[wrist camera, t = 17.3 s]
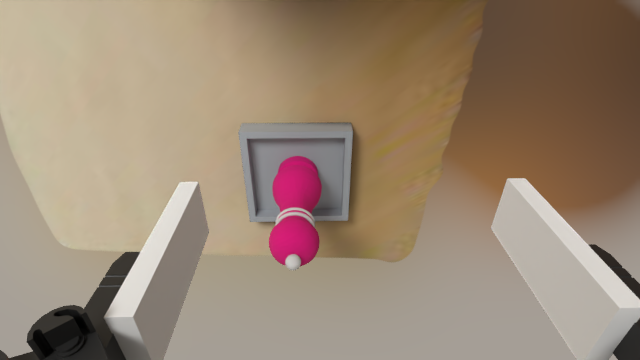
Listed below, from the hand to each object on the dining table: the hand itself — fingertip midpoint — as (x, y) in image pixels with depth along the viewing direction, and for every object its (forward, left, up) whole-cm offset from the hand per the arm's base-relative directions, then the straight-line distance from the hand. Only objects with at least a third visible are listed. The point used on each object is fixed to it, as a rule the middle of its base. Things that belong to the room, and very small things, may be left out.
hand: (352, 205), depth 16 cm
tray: (+20, -4, -37) cm, 42 cm away
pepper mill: (+20, -4, -36) cm, 41 cm away
